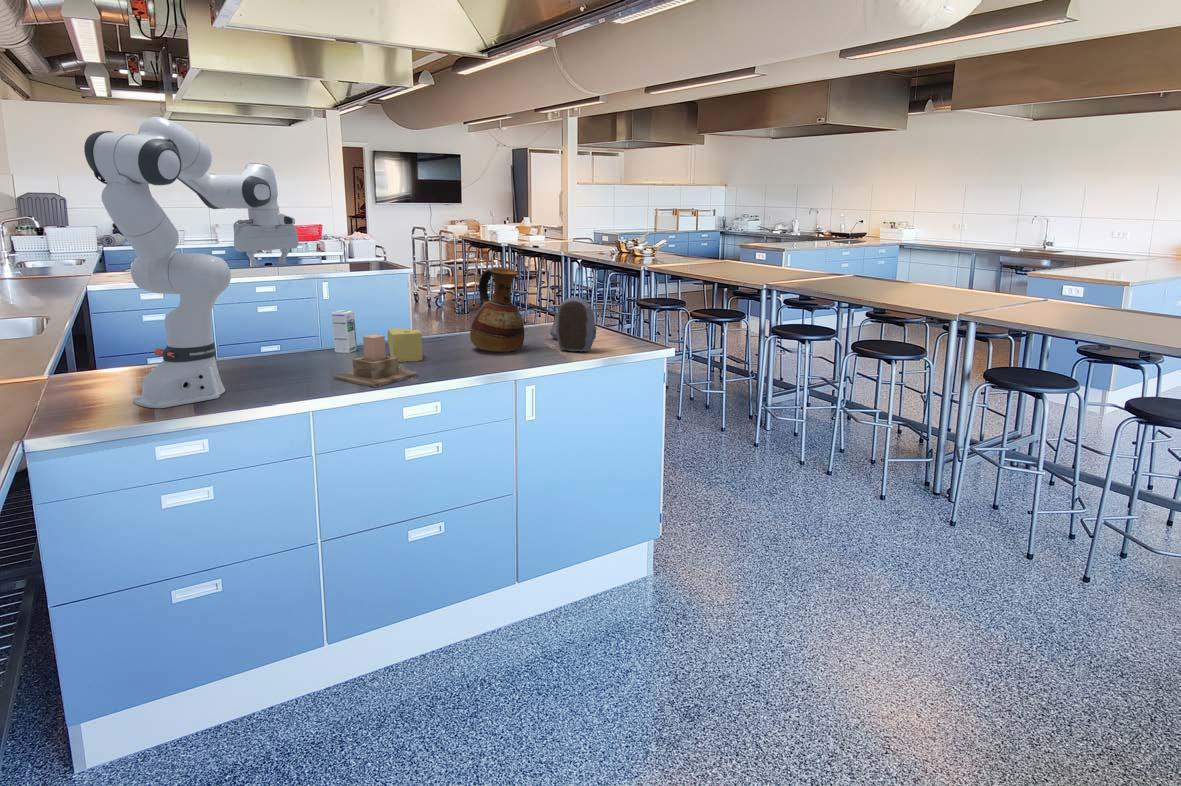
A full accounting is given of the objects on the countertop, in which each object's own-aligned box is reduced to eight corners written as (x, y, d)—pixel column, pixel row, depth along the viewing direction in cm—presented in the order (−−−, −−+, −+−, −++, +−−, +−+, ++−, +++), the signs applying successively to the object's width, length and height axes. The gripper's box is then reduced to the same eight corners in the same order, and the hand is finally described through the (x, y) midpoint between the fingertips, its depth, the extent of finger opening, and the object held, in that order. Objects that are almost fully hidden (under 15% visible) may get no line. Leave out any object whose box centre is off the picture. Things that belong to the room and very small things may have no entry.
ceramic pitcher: (502, 358, 257) (501, 271, 250) (458, 351, 268) (456, 268, 260) (535, 348, 274) (535, 267, 266) (493, 342, 284) (491, 263, 276)
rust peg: (375, 376, 225) (373, 338, 222) (365, 374, 228) (362, 336, 224) (386, 373, 229) (384, 335, 226) (376, 371, 231) (374, 334, 228)
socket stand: (374, 387, 217) (373, 367, 215) (333, 379, 226) (331, 359, 224) (418, 375, 231) (417, 357, 230) (378, 368, 240) (377, 350, 239)
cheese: (418, 354, 261) (417, 326, 258) (423, 361, 251) (422, 332, 249) (388, 356, 257) (386, 328, 255) (392, 363, 248) (390, 334, 245)
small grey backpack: (553, 351, 270) (553, 296, 265) (561, 347, 277) (561, 293, 272) (592, 354, 265) (593, 299, 260) (599, 350, 273) (600, 296, 268)
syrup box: (349, 353, 261) (346, 312, 257) (334, 352, 262) (330, 312, 258) (357, 350, 266) (354, 310, 263) (342, 349, 268) (339, 309, 264)
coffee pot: (571, 335, 300) (572, 298, 296) (583, 340, 290) (583, 302, 286) (522, 338, 292) (521, 301, 288) (532, 344, 282) (532, 305, 278)
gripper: (239, 220, 215) (244, 268, 219) (299, 218, 232) (303, 263, 236) (226, 219, 219) (231, 266, 222) (286, 218, 235) (290, 261, 239)
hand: (269, 264), depth 229 cm, fingers open, 8 cm apart
